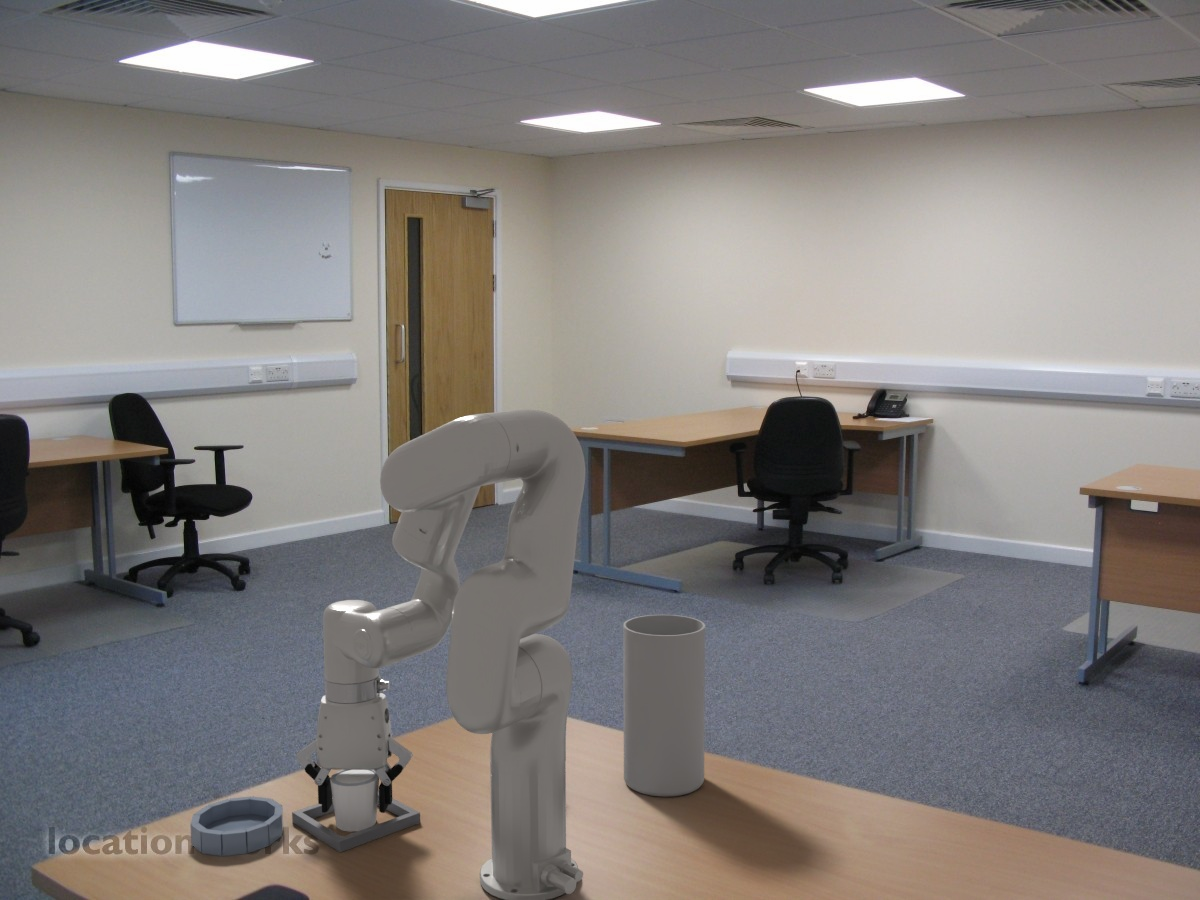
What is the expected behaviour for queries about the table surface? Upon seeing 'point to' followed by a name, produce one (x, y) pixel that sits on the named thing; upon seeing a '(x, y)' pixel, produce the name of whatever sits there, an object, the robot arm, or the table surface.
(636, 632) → the cylinder vase
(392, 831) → the grey square frame
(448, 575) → the robot arm
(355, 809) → the white cup
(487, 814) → the table surface
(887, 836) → the table surface
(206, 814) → the bowl
